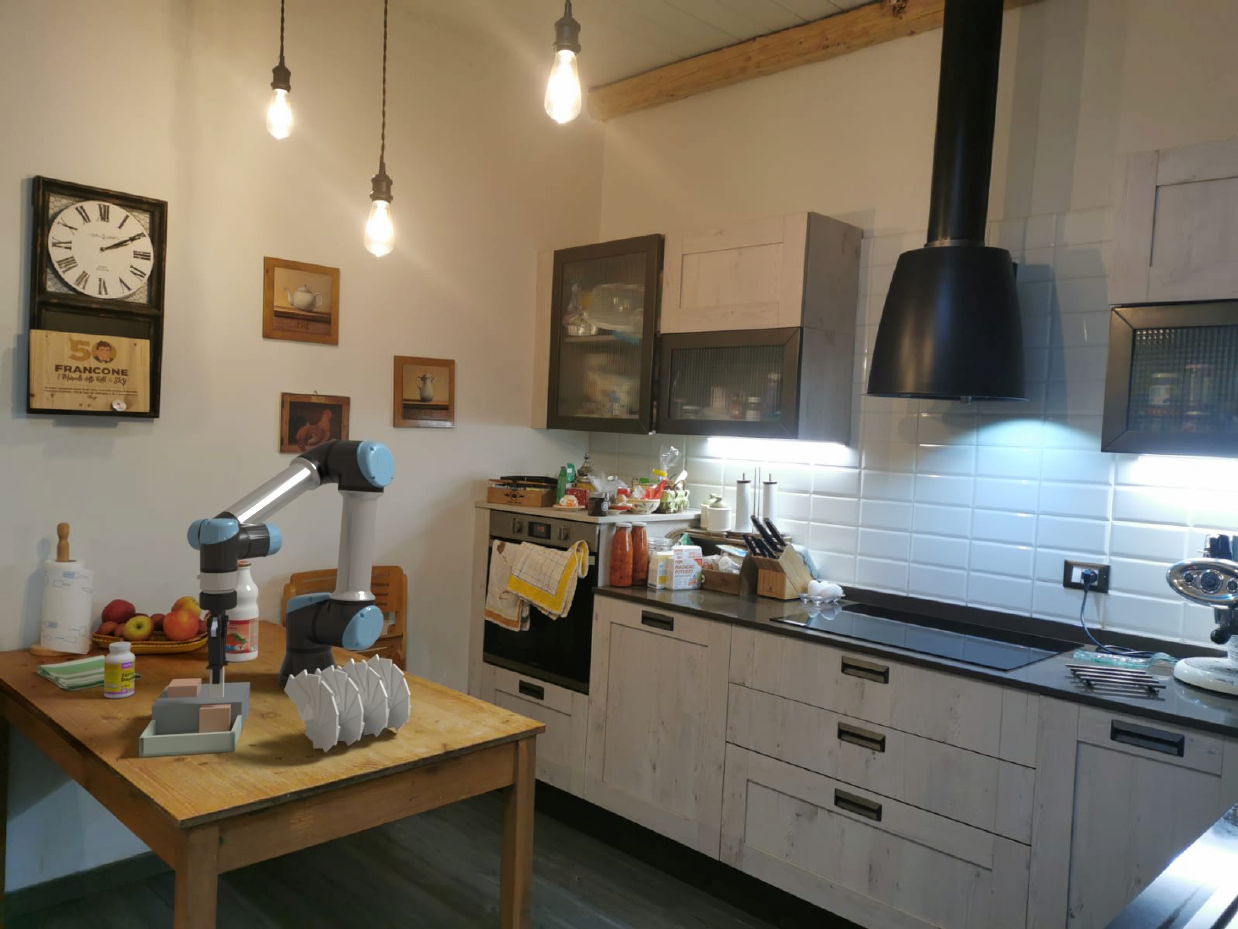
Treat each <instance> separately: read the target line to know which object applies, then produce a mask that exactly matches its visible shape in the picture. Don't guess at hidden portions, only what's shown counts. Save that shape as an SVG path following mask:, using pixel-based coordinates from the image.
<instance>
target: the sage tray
mask: <svg viewBox="0 0 1238 929" xmlns="http://www.w3.org/2000/svg"><path fill="white" fill-rule="evenodd" d="M241 718H242V715H238V716H237V718H236V721H235V723H234V725H233V728H232V730H231V731H228V732H210V733H184V734H166V735H156V720H152V719H151V720H150V722H149V723H148V724H147V726H146V728H145V729H144V730H143V732H142V734H141V735H140V737H139V738H138V739H139V740H138V758H152V757H164V756H165V757H169V756H182V755H184V756H185V755H197V754H198V755H201V754H216V753H217V754H218V753H228V752H229V753H234V752H235V751H236V748H237V746H238V742H239V740H240V738H241V734H242V732H241Z"/></svg>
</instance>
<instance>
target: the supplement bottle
mask: <svg viewBox="0 0 1238 929" xmlns="http://www.w3.org/2000/svg"><path fill="white" fill-rule="evenodd" d="M131 648H132V643H131V642H129V641H115V642H111V643H110V644H109V646H108V650H109V653H108V654H107V655H106V656H104V657H105V661H104V685H103V695H104V697H105V698H108V699H123V698H127V697H130V696H132V695H133V694H134V693H135V673H136V672H135V671H136V656H135V654H134V653H133V652H131Z"/></svg>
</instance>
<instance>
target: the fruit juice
mask: <svg viewBox="0 0 1238 929" xmlns="http://www.w3.org/2000/svg"><path fill="white" fill-rule="evenodd" d="M251 568H252V562H251V561H249V560H238V566H237V570H238V581H237V588H236V589H234V590H236V591H237V606H236V607H235V608H233V609H230V610H226V615H229V621H228V623H227V637H226V660H225V662H233V663H234V662H235V663H240V662H241V663H242V662H248V661H249V662H250V661H253V660H255V659H257V658H258V656H259V619H260V618H259V617H260V616H259V615H260V613H259V610H260V609H259V606H258V601H257V600H258V597H259V587H258V586H257V584H256V583H255V582H254V580H253V577H252V574H251Z"/></svg>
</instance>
